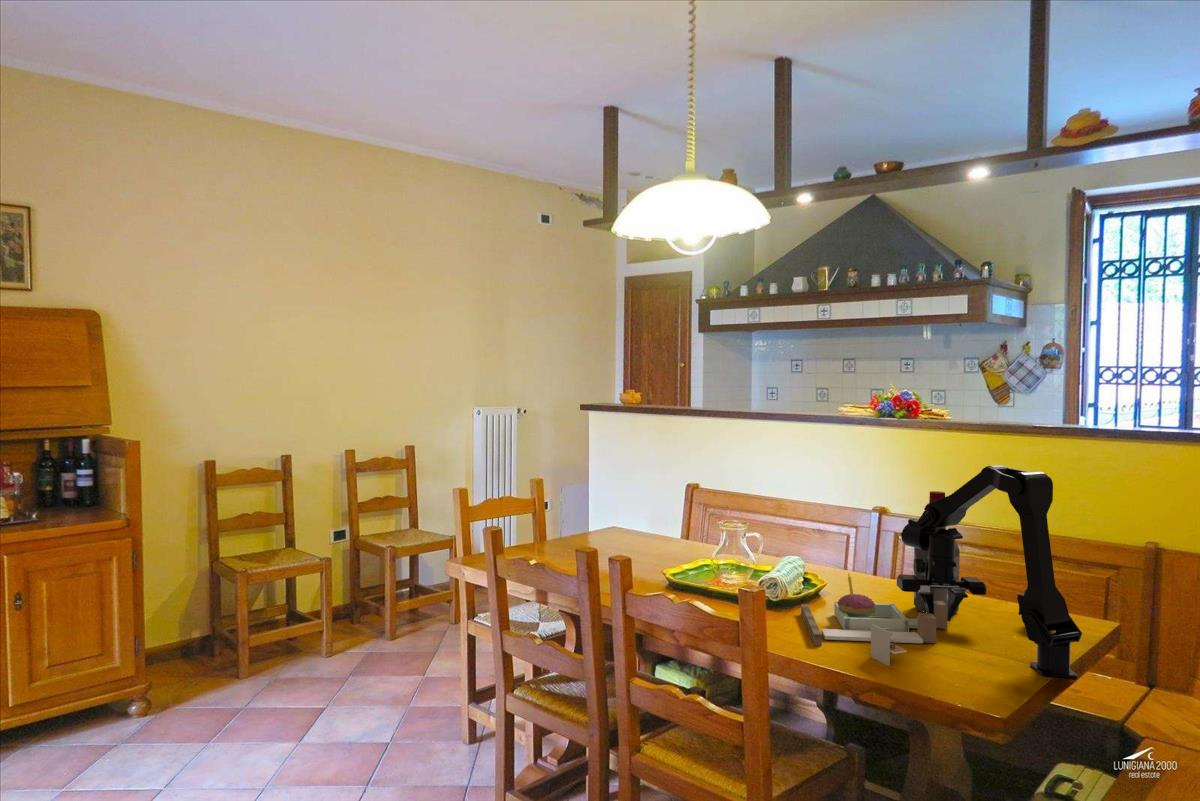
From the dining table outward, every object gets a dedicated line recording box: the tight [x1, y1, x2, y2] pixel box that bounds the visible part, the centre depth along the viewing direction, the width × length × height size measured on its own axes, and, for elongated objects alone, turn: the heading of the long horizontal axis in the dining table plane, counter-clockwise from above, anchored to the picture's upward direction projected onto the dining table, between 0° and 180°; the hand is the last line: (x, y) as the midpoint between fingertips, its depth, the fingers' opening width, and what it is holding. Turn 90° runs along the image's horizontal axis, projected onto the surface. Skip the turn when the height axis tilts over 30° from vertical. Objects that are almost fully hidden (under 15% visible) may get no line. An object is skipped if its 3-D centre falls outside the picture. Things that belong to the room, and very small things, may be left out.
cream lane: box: [821, 612, 937, 644], centre depth 175 cm, size 5×24×6 cm, turn 83°
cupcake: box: [837, 572, 876, 618], centre depth 186 cm, size 9×8×12 cm
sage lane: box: [833, 601, 948, 632], centre depth 185 cm, size 13×24×6 cm, turn 83°
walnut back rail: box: [800, 603, 823, 647], centre depth 182 cm, size 23×2×2 cm, turn 173°
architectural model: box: [870, 624, 908, 667], centre depth 162 cm, size 3×7×7 cm, turn 20°
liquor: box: [913, 490, 961, 614], centre depth 197 cm, size 9×9×30 cm
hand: (939, 620), depth 183 cm, fingers open, 3 cm apart
